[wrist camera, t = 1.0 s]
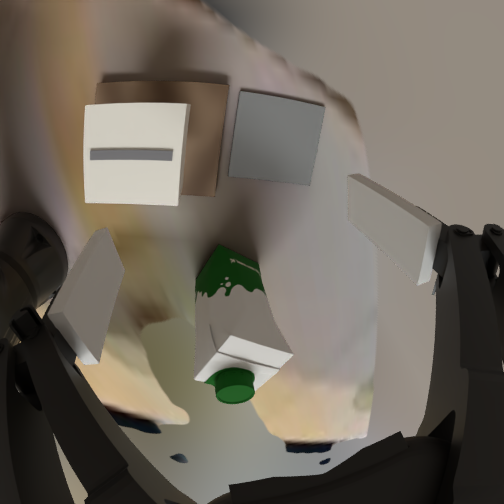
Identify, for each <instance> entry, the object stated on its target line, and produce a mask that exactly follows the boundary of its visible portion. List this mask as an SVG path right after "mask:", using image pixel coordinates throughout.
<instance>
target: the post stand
mask: <svg viewBox="0 0 504 504" xmlns="http://www.w3.org/2000/svg"><path fill="white" fill-rule="evenodd" d="M228 90H229V85H223V84H213V83H201V82H183V81H125V82H108V83H97V87H96V96H95V105H97V104H114V103H181V104H191V106H190V114H189V123H188V132H187V141H186V152H185V163H184V176H183V187H182V191H181V195H195V196H211V197H215V189H216V180H217V171H218V163H219V155H220V147H221V139H222V131H223V124H224V117H225V110H226V103H227V96H228Z"/></svg>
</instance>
